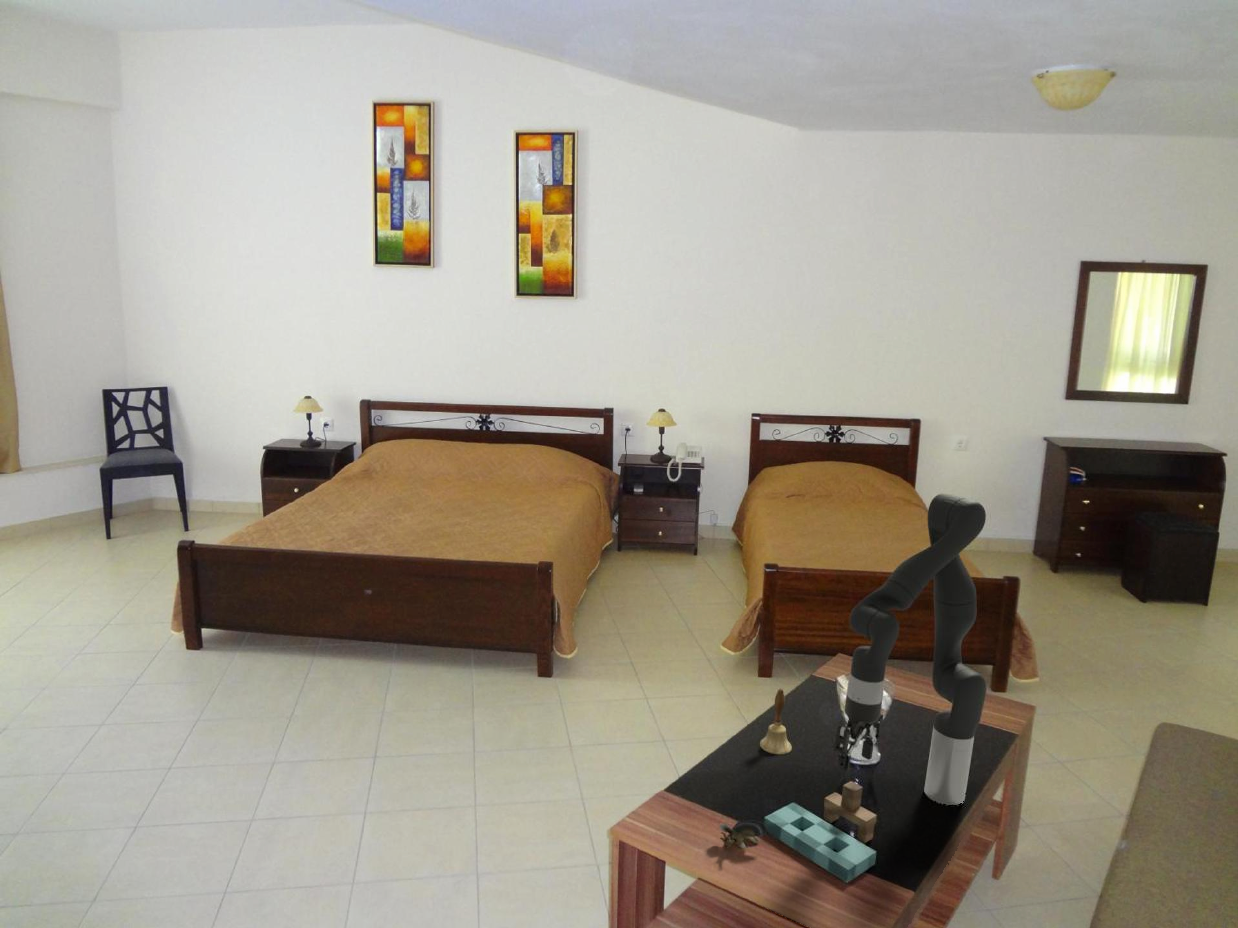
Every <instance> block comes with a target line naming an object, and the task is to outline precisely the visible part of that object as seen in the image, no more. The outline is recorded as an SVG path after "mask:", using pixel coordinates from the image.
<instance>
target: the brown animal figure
mask: <svg viewBox="0 0 1238 928" xmlns="http://www.w3.org/2000/svg"><path fill="white" fill-rule="evenodd" d="M718 827H719V829H720V830H721V832H720V834H722V835H723V837H721V836H720V840H721V841H722V842H723V850H726V849H728V848H729V847H730V844H733V843H734V842H735V843H736V844H737V846H739V847H740V848H741V849H742V850H743V852H744V853H745V854H746V852H747V851H746V849H747V846H746V845H745V843H744V840H746V841H751V842H753V843H755V844H757V845H758V844H759V843H760V841H759V839H758V838H757V837H759V838H761V837H764V836H765V835H766V834H767V833H768V832H767V831H768V830H767V829H766V827H765V825H764V822H760V821H758V820H755V819H750V820H742V821H741V820H740V821H737V822H736V823H735V825H734V826H733V827H729V826H728V825H727V824H726V823H718ZM722 831H723V832H722ZM724 832H725V833H724ZM726 833H727V834H726ZM755 837H756V838H755Z"/></svg>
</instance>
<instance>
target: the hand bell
mask: <svg viewBox="0 0 1238 928" xmlns="http://www.w3.org/2000/svg"><path fill="white" fill-rule="evenodd" d="M785 697H786V696H785V693H784V689H783V688H778V690H777V693H776V694H775V697H774V708H775V714H774V715H775V716H774V723H772V724H770V725H768V729H767V733H766V735H765V737H763V738H762V739H761V740H760V742H759V746H760V748H761V749H762V750H763V751H765V752H766V753H769V754H773V755H785V754H789V753H790V752H791V751H792V749H793V747H792V744H791V743H790V742H789V741H788V738H787V737H788V736H787V729H786V727H785V725H782V714H783V711H784V708H785V703H786V698H785Z"/></svg>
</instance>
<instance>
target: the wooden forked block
mask: <svg viewBox="0 0 1238 928" xmlns="http://www.w3.org/2000/svg"><path fill="white" fill-rule="evenodd" d="M863 788H864V787H863V786H861V785H860V784H858V783H856V782H854V781H852V780H850V781H849V782H846V783H845V784H843V786H842V792H841V793H842V794H839V793H838V792H833V793H831V794H830V795H827V796H826V797H824V801H823V807H824V810H823V811H824V812H823V820H824V821H826V822H827V823H829V824H832V823H834V822H835V821H838V820H839V819H840V817H842V818H844V819H846V820H848V821H849V822H851V823H853V824H854V825H856V826H858V828H857V836H856V840H858V841H859V842H861V843H863V844H866V843H868V842H869V841H871V840H873V838H874V831H875V830H874V829H875V825H876V824H877V818H878V817H877V816H878V815H877V814H876V813H874V812H872V811H870V810H868V809H866V808H864V807H862V806H861V803H862V795H863Z"/></svg>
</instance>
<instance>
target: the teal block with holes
mask: <svg viewBox="0 0 1238 928" xmlns="http://www.w3.org/2000/svg"><path fill="white" fill-rule="evenodd" d="M763 825H765V827H766V829H767V830H768V831H767V833H768V834H770V835H771V836H773V837H774V838H776V839H778V840H779V841H781V842H782V843H783V844H785V845H787V846H788V847H790V848H791V849H793V850H795V851H796V852H797V853H800V854H801V855H802V856H804V857H806V858H807V859H808V860H810V861H811V862H813V863H815V864H816V865H818V866H819V867H821V868H823V869H824V870H826V871H827V872H829V873H830V874H832V875H834V876H836V878H838V879H839V880H841V881H843V882H844V883H846V884H847V883H849V882H851V881H852V880H854V879H855V878H857V877H858V876H859V875H861V874H863V873H864V872H866V871H867V870H869V869H871V867H873V866H875V865H876V859H877V858H876V857H877V851H876V850H874V849H873V848H871V847H869V846H867V845H866V844H865V843H863V842H862V841H860V840H858V839H857V838H854V837H852V836H850V835H849V834H847V833H846V832H844V831H842V830H841V829H840V828H838V827H836V826H834V825H833V824H832V823H829V822H828V821H826V820H824V819H822V818H820V816H817V815H816V814H814V813H812V812H811V811H809V810H807V809H805V808H804V807H802V806H801V805H798V804H797V803H795V802H793V801H792V802H791V803H788V805H785V806H783V807H781V808H779V809H777V810H776V811H774V812H772V813H770V814H768V815H766V816H764V819H763ZM834 850H836V851H834Z"/></svg>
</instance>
